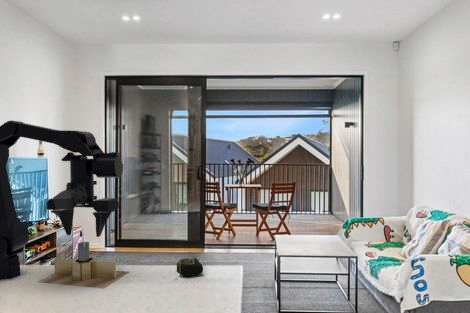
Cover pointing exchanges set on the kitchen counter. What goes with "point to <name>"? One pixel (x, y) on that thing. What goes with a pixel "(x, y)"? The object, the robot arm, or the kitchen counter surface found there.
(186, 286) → the kitchen counter surface
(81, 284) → the walnut board
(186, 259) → the tape measure
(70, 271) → the brass hinge
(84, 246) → the hinge pin
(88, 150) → the robot arm
